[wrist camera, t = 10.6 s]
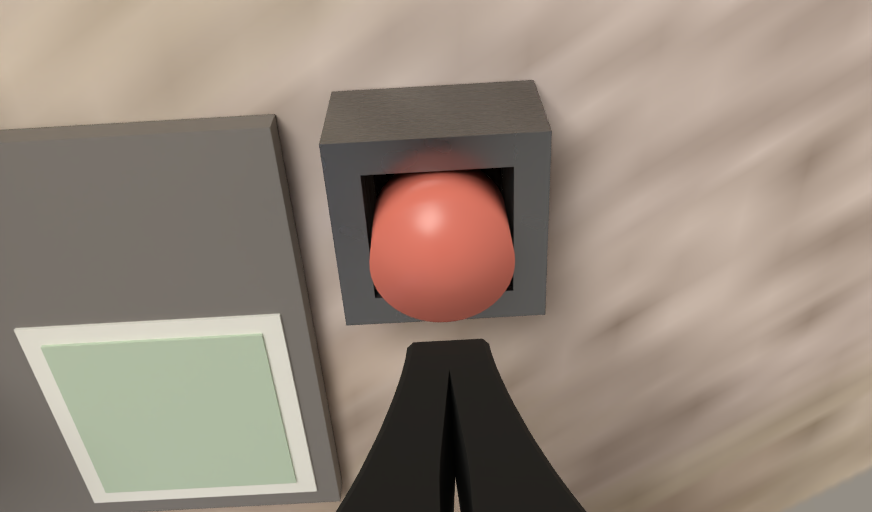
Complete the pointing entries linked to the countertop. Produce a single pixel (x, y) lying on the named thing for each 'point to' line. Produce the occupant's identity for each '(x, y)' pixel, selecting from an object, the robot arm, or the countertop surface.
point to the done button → (441, 244)
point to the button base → (437, 151)
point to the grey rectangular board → (156, 322)
